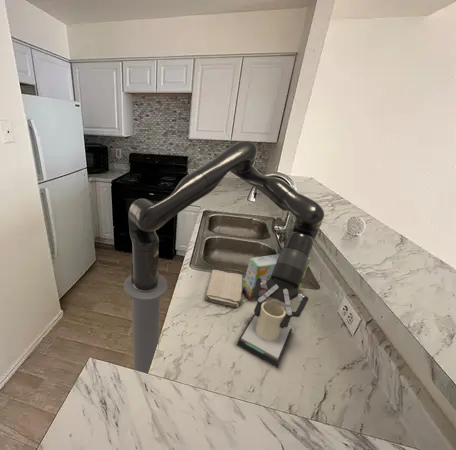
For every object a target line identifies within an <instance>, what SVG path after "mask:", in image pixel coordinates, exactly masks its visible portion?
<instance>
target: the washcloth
mask: <svg viewBox="0 0 456 450" xmlns="http://www.w3.org/2000/svg"><path fill="white" fill-rule="evenodd" d="M206 289H207V290H206V293H205V300H206V301H207V302H212V303H215V304H218V305H219V304H220V305H223V306H227V307H233V308H239V306H240V302H241V299H242V293H243V291H242V290H243V274H241V273H235V272H226V271H222V270H219V269H212V271H211V275H210V279H209V282H208V287H207V288H206Z"/></svg>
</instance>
